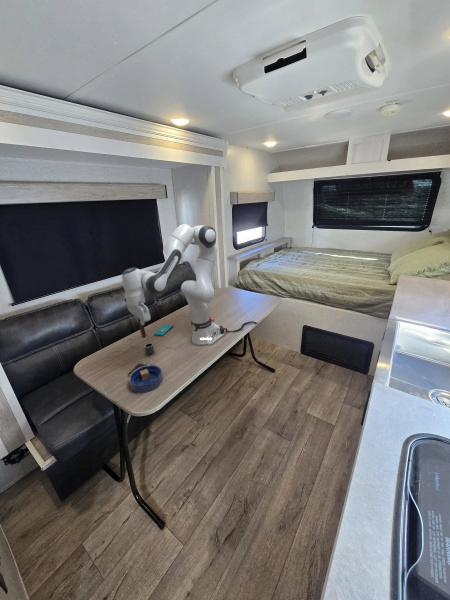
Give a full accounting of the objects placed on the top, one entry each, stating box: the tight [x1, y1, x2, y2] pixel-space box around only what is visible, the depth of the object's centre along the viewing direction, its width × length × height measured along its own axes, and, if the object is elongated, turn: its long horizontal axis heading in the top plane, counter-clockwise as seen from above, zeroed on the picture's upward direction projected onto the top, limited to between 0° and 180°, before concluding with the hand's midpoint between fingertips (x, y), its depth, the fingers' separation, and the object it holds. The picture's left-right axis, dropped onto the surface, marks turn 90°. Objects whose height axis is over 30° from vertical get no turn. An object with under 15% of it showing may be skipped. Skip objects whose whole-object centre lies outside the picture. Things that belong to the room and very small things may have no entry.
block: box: [140, 369, 150, 380], centre depth 123 cm, size 4×4×4 cm
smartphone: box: [153, 324, 174, 337], centre depth 171 cm, size 7×1×15 cm
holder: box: [143, 342, 155, 357], centre depth 144 cm, size 5×5×6 cm
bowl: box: [128, 364, 164, 394], centre depth 120 cm, size 16×16×5 cm
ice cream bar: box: [127, 359, 150, 376], centre depth 131 cm, size 5×2×15 cm
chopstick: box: [137, 317, 147, 339], centre depth 129 cm, size 2×2×15 cm
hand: (141, 323), depth 128 cm, fingers closed on chopstick, 2 cm apart
